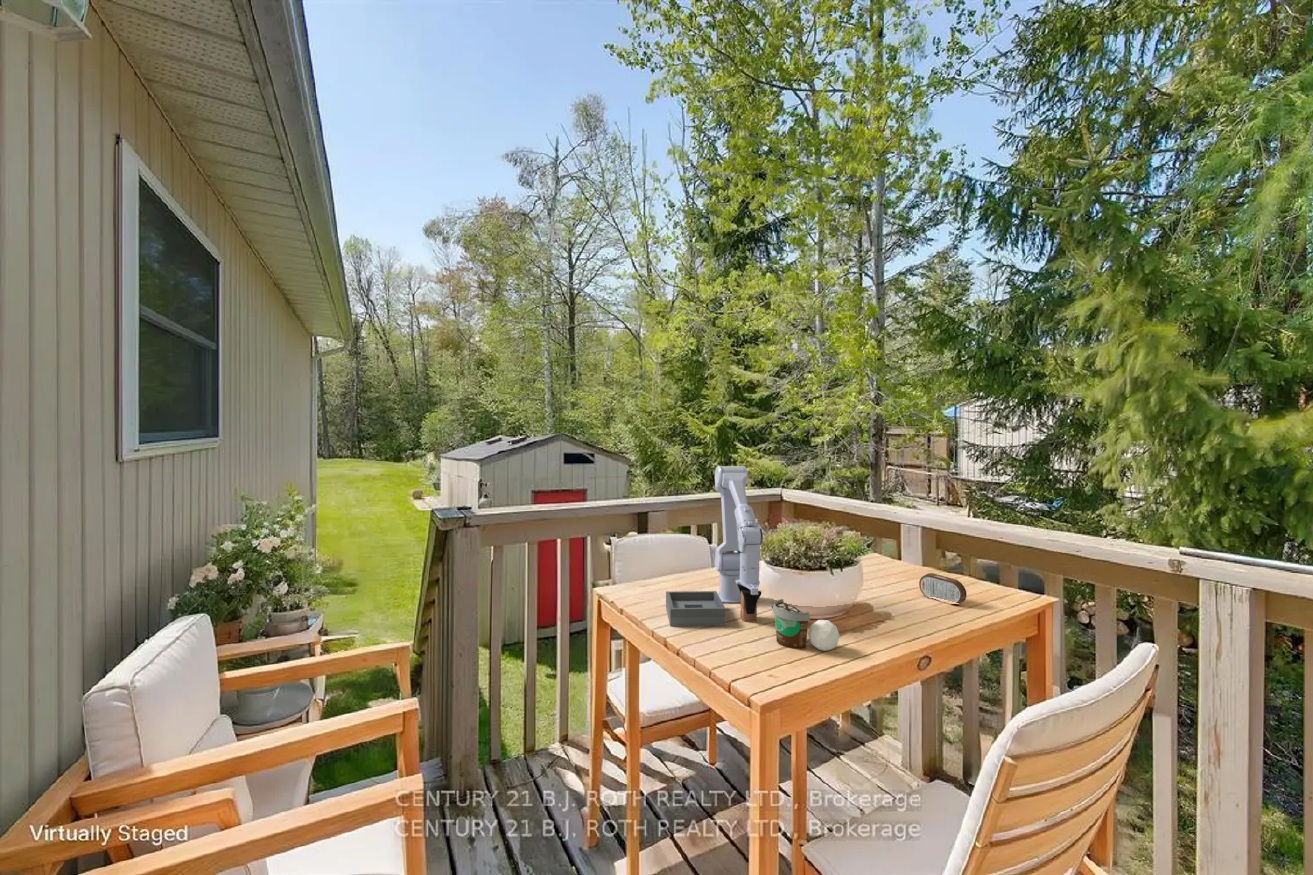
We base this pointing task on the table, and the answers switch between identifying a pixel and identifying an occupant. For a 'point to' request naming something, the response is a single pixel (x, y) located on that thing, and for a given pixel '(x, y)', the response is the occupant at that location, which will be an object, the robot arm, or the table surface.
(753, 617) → the peg
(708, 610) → the hole box
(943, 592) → the tin
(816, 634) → the ball
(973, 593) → the table surface
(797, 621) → the food container
